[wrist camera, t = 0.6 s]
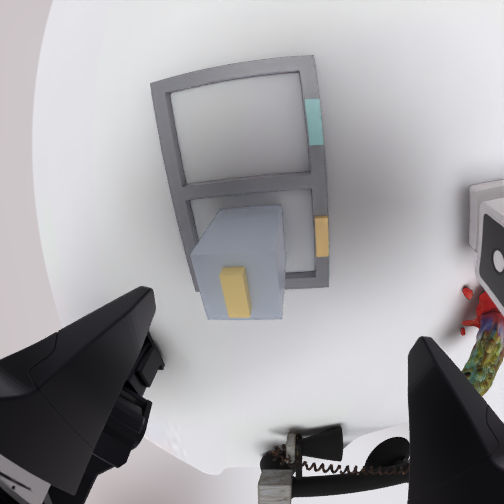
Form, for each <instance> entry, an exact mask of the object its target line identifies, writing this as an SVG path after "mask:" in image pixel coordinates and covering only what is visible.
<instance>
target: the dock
mask: <svg viewBox="0 0 504 504" xmlns="http://www.w3.org/2000/svg"><path fill="white" fill-rule="evenodd" d="M291 72H299V73H300V80H301V87H302V95H303V103H304V111H305V120H306V129H307V139H308V150H309V161H310V172H299V173H285V174H272V175H261V176H251V177H241V178H232V179H223V180H215V181H207V182H199V183H192V184H186V182H185V177H184V172H183V167H182V162H181V157H180V151H179V146H178V141H177V135H176V129H175V124H174V118H173V112H172V106H171V100H170V93H172V92H175V91H179V90H184V89H188V88H192V87H197V86H201V85H206V84H211V83H216V82H221V81H227V80H233V79H239V78H246V77H253V76H261V75H269V74H279V73H291ZM150 86H151V92H152V99H153V105H154V111H155V117H156V123H157V128H158V134H159V139H160V144H161V149H162V154H163V159H164V164H165V169H166V174H167V179H168V183H169V188H170V192H171V197H172V201H173V205H174V210H175V214H176V218H177V222H178V226H179V231H180V235H181V239H182V242H183V246H184V250H185V254H186V258H187V262H188V265H189V269H190V273H191V276H192V280H193V283H194V287H195V291H196V292H200V290H199V286H198V283H197V279H196V275H195V272H194V268H193V264H192V260H191V256H190V254H191V253H192V251H193V250H194V248H195V247H196V245H197V244H198V238H197V233H196V229H195V224H194V220H193V215H192V211H191V206H190V201H189V200H192V199H201V198H210V197H219V196H228V195H238V194H249V193H260V192H272V191H285V190H300V189H312V202H313V219H314V241H315V272H300V273H285V286H284V289H302V288H322V287H329V233H328V201H327V181H326V165H325V151H324V139H323V128H322V118H321V108H320V100H319V91H318V83H317V76H316V69H315V62H314V55H308V56H292V57H280V58H270V59H262V60H254V61H247V62H240V63H234V64H228V65H223V66H218V67H213V68H208V69H203V70H199V71H194V72H190V73H186V74H182V75H178V76H174V77H171V78H167V79H164V80H160V81H157V82H153V83H150Z"/></svg>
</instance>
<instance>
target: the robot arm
mask: <svg viewBox="0 0 504 504" xmlns="http://www.w3.org/2000/svg"><path fill="white" fill-rule="evenodd" d="M155 310H156V305H155V298H154V292H153V289H151V288H149V287H145V286H140V287H138V288H136V289H134V290H132V291H130V292H128V293H127V294H125V295H123V296H121V297H119V298H117V299H115V300H114V301H112V302H110V303H108V304H106V305H104V306H103V307H101V308H99V309H97V310H95V311H93V312H92V313H90V314H88V315H86V316H84V317H82V318H81V319H79V320H77V321H75V322H73V323H72V324H70V325H68V326H66V327H64V328H63V329H61V330H59V331H58V332H55V333H54V334H52V335H50V336H48V337H47V338H45V339H43V340H41V341H39V342H37V343H35V344H33V345H31V346H29V347H27V348H25V349H23V350H21V351H18V352H16V353H14V354H11V355H9V356H7V357H5V358H3V359H0V504H84V503H85V501H86V499H87V497H88V494H89V492H90V490H91V488H92V486H93V484H94V482H95V479H96V477H97V476H98V475H99V474H101V473H103V472H105V471H107V470H109V469H111V468H113V467H116V468H119V467H120V466H122V465H123V464H125V463H126V462H127V459H128V457H129V454H130V451H131V450H133V449H134V448H136V447H137V446H138V444H139V443H140V441H141V440H142V438H143V436H144V434H145V431H146V427H147V423H148V419H149V414H150V410H151V406H152V402H151V401H149V400H146V399H145V398H143V397H142V396H143V394H144V392H145V390H146V387H150V386H151V384H152V381H153V379H154V377H155V375H156V373H157V371H158V370H163V369H164V367H165V365H164V363H163V361H162V359H161V357H160V355H159V353H158V351H157V349H156V347H155V345H154V343H153V341H152V339H151V337H150V335H149V332H148V330H149V327H150V324H151V322H152V319H153V317H154V314H155ZM408 408H409V430H410V469H409V490H408V501H407V504H504V423H503V422H502V421H501V420H500V419H499V417H498V416H497V415H496V414H495V412H494V411H493V410H492V409H491V407H490V406H489V405H488V404H487V402H486V401H485V400H484V398H483V397H482V396H481V395H480V393H479V392H478V391H477V390H476V389H475V387H474V386H473V385H472V384H471V383H470V381H469V380H468V379H467V378H466V377H465V375H464V374H463V373H462V372H461V371H460V369H459V368H458V367H457V366H456V365H455V364H454V363H453V361H452V360H451V359H450V358H449V357H448V356H447V355H446V353H445V352H444V351H443V350H442V349H441V348H440V347H439V346H438V344H437V343H436V342H435V341H434V340H433V339H432V338H431V337H426V336H421V337H419V338H418V340H417V341H416V343H415V344H414V346H413V347H412V349H411V350H410V352H409V355H408Z"/></svg>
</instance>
